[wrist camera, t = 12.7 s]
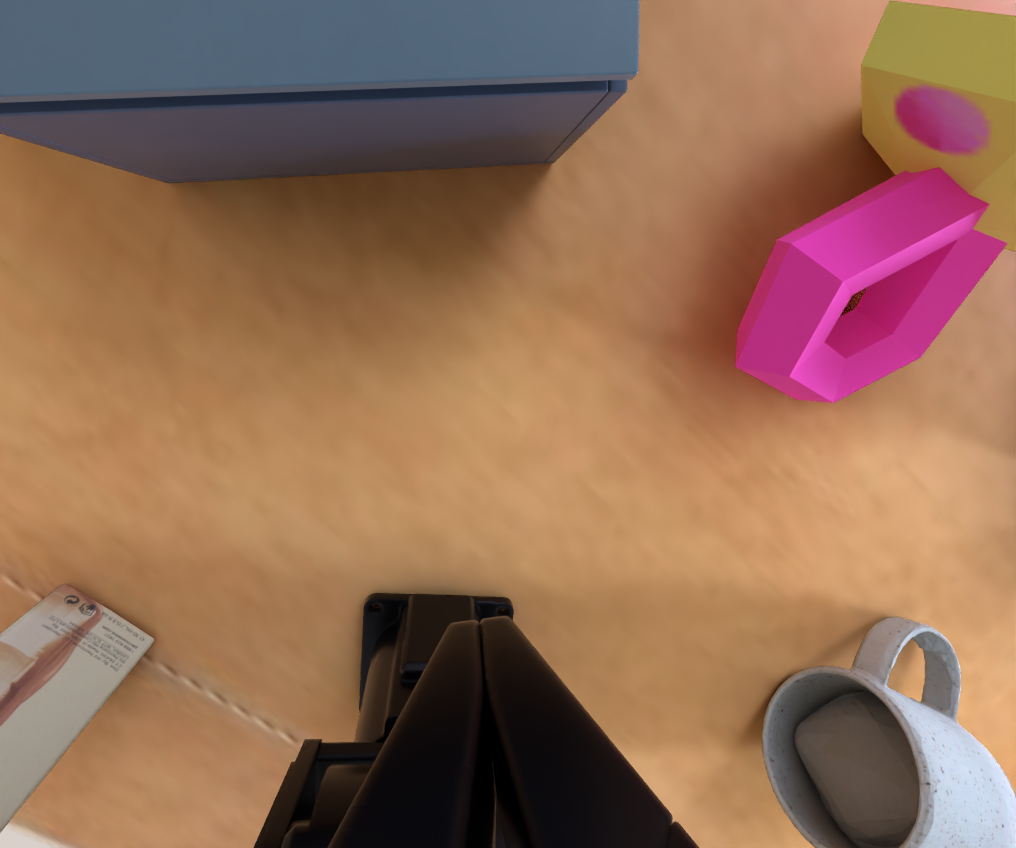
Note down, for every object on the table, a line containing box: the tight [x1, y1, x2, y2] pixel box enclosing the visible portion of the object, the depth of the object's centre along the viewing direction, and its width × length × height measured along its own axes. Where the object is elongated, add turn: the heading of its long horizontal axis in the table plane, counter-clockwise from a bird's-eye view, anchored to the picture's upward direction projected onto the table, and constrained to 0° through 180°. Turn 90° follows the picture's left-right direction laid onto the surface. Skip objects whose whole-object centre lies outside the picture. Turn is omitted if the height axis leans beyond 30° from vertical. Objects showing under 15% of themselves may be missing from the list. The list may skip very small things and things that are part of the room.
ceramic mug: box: [762, 617, 1016, 848], centre depth 23 cm, size 11×8×8 cm
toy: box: [735, 1, 1016, 403], centre depth 14 cm, size 10×18×10 cm, turn 148°
